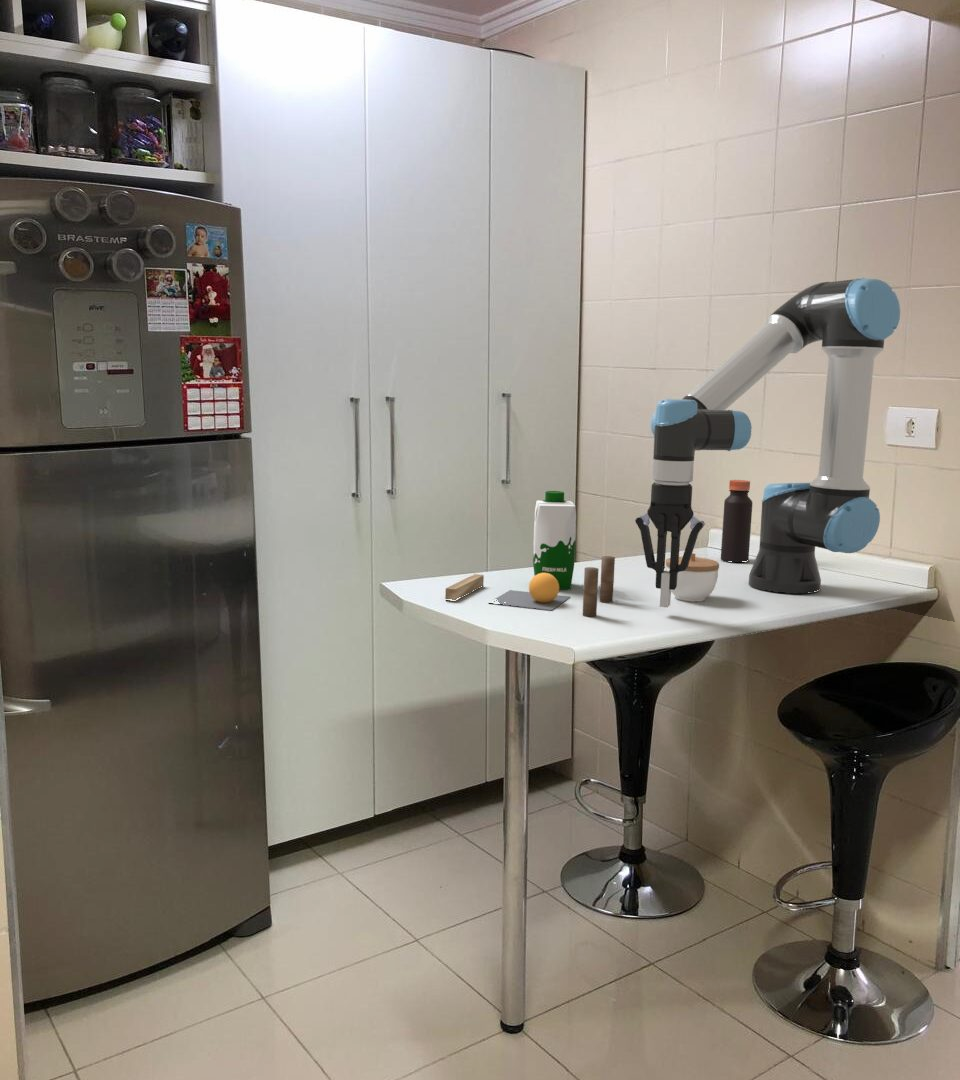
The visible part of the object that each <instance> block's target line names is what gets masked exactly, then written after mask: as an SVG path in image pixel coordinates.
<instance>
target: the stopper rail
mask: <svg viewBox="0 0 960 1080" xmlns="http://www.w3.org/2000/svg"><path fill="white" fill-rule="evenodd" d="M484 577H485V576H484V574H477V573H475V574H472V575H470V576H467V577H466V578H464V579H462V580H460V581H458V582H456V583H454V584H452V585H449V586H448V587H446V588H445V596H444V597H445V599H452V600H456V599H457V598H459V597H462V596H464V595H466V594H468V593H470V592H472V591H473V590H475V589H477V588H479V587H481V586H483V587H484V582H485V581H484V580H485V579H484ZM472 593H473V592H472ZM470 594H471V593H470ZM468 595H469V594H468ZM445 599H444V600H445Z"/></svg>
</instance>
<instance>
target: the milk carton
mask: <svg viewBox="0 0 960 1080" xmlns="http://www.w3.org/2000/svg"><path fill="white" fill-rule="evenodd" d="M533 522H534V523H533V524H534V525H533V545H532V546H533V549H532V551H533V552H532V567H533V574H534V576H535V575H537V574H539V573H549V574H551V575H553V576H554V577H555V578H556V579H557V581H558V583H559V590H568V589H570V590H571V589H572V584H573V583H572V582H573V575H574V568H575V559H576V558H575V557H576V536H577V535H576V534H577V510H576V505H575V503H574V502H573V501H571V500H565V492H564V491H559V490H558V491H557V490H547V491H545V497H544V499H542V500H536V503H535V508H534V521H533ZM534 576H533V577H534Z"/></svg>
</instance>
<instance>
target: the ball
mask: <svg viewBox="0 0 960 1080" xmlns="http://www.w3.org/2000/svg"><path fill="white" fill-rule="evenodd" d="M559 591H560V589H559V583H558V581H557V579H556V578H555V577H554V576H553V575H551V574H549V573H539V574H537V575H535V576H533V577H532V578H531V580H530V582H529V585H528V592H530V595H531V596H532V598H533V599H534V600H536V601H537V602H540V603H548V602H551V601H552V600H554V599H555V598H556V597H557V595H559Z"/></svg>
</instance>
